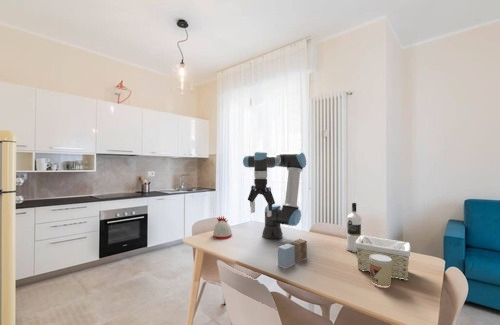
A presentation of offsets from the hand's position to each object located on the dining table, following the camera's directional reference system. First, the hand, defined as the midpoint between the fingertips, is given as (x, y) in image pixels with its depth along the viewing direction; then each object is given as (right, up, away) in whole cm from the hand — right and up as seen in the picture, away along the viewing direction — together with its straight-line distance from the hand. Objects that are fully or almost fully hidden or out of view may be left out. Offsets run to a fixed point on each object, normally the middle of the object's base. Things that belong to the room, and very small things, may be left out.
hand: (260, 214), depth 139 cm
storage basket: (+62, -25, -17) cm, 69 cm away
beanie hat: (-27, -25, +39) cm, 54 cm away
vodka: (+60, -25, +11) cm, 66 cm away
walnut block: (+22, -25, -3) cm, 33 cm away
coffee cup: (+53, -25, -31) cm, 66 cm away
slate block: (+13, -25, -11) cm, 30 cm away
